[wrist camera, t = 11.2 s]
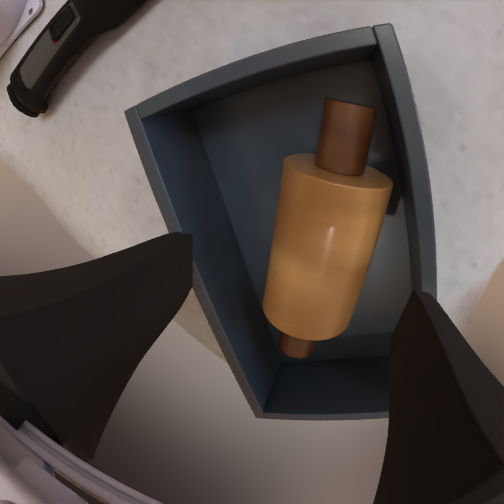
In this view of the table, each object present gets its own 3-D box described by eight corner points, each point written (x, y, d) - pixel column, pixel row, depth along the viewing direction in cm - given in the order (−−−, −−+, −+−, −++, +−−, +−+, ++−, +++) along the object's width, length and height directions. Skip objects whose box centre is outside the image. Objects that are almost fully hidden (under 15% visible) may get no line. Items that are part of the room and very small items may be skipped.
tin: (275, 362, 20) (255, 418, 16) (182, 101, 14) (123, 111, 10) (421, 352, 16) (426, 414, 13) (379, 44, 10) (391, 22, 6)
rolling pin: (258, 314, 17) (253, 373, 14) (289, 90, 11) (296, 95, 8) (331, 321, 17) (340, 379, 14) (386, 109, 11) (427, 124, 8)
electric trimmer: (239, -47, 10) (211, -73, 7) (44, 120, 17) (7, 130, 14) (204, -87, 8) (174, -112, 6) (27, 79, 15) (-9, 85, 13)
